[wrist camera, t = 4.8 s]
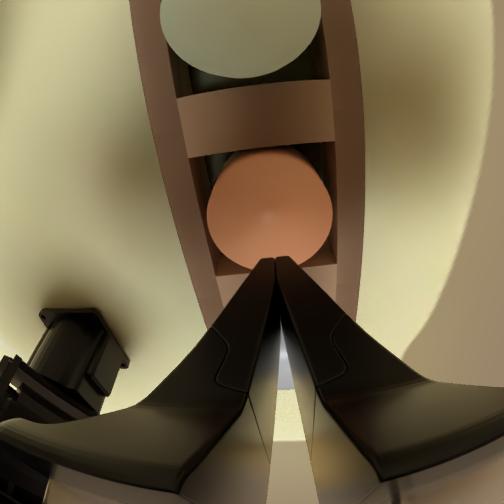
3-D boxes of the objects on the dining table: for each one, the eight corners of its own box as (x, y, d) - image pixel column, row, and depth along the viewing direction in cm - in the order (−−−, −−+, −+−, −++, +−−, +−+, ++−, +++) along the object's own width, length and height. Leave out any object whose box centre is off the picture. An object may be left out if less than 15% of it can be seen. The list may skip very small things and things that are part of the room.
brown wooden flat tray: (230, 352, 22) (227, 386, 19) (149, -22, 9) (125, -40, 6) (339, 342, 21) (347, 375, 18) (320, -45, 8) (333, -70, 6)
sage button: (191, 88, 11) (172, 91, 8) (174, -15, 8) (152, -37, 6) (313, 72, 10) (330, 70, 8) (296, -32, 8) (307, -59, 5)
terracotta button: (225, 242, 16) (219, 276, 13) (207, 149, 13) (195, 167, 11) (321, 232, 16) (332, 264, 13) (316, 136, 13) (330, 152, 10)
